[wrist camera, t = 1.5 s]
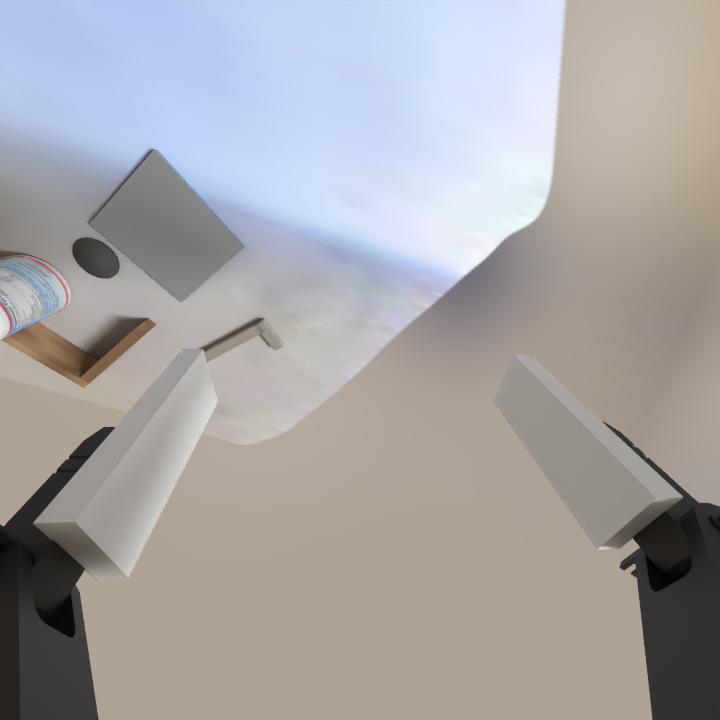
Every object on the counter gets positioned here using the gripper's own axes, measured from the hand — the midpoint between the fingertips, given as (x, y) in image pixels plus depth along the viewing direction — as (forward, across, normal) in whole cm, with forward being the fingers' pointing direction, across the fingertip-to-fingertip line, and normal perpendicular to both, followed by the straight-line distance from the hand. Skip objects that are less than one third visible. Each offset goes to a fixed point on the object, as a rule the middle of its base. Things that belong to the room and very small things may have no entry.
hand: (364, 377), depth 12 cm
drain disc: (+22, -26, -2) cm, 34 cm away
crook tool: (+23, -14, -13) cm, 30 cm away
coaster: (+22, -18, +1) cm, 29 cm away
